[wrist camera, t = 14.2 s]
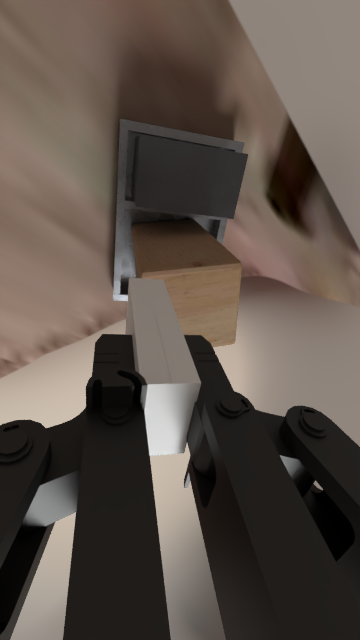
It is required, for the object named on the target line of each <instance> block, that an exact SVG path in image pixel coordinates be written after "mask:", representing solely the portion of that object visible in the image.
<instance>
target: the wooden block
mask: <svg viewBox="0 0 360 640" xmlns="http://www.w3.org/2000/svg"><path fill="white" fill-rule="evenodd" d="M131 232H132V241H133V250H134V258H135V267H136V275H137V278H142V279H157V280H164V283H165V285H166V288H167V291H168V294H169V296H170V299H171V302H172V305H173V307H174V310H175V313H176V315H177V318H178V321H179V324H180V326H181V329H182V332H183V335H202V336H203V337H204V338H205V339H206V340H207V341H209V342H210V343H211V345H212V347H217V346H224V345H230V344H234V342H235V337H236V325H237V313H238V303H239V291H240V280H241V268H242V264H241V262H240V261H239V260H238V259H237V258H236V257H235V256H234V255H233V254H232V253H230V252H229V251H228V250H227V249H226V248H225V247H224V246H223V245H222V244H221V243H220V242H218V241H217V240H216V239H215V238H214V237H213V236H212V235H211V234H210V233H209V232H208V231H206V230H205V229H204V228H203V227H202V226H201V225H200V224H199V223H198V222H197V221H195V220H193V219H191V220H177V221H164V222H151V223H137V224H132V225H131Z"/></svg>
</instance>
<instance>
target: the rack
mask: <svg viewBox="0 0 360 640" xmlns="http://www.w3.org/2000/svg"><path fill="white" fill-rule="evenodd" d="M243 146H244V143H243V142H238V141H233V140H228V139H223V138H218V137H212V136H207V135H202V134H197V133H192V132H187V131H182V130H177V129H172V128H166V127H161V126H156V125H151V124H146V123H141V122H136V121H131V120H126V119H120V127H119V153H118V179H117V206H116V232H115V258H114V284H113V300H121V301H128V287H129V278H137V275H136V267H135V258H134V250H133V241H132V232H131V225H132V224H137V223H151V222H164V221H177V220H191V219H193V220H195V221H197V222H198V223H199V224H200V225H201V226H202V227H203V228H204V229H205V230H206V231H208V232H209V233H210V234H211V235H212V236H213V237H214V238H215V239H216V240H217V241H218V242H220V243H221V244H222V241H223V237H224V232H225V228H226V223H227V219H228V218H230V219H233V218H234V214H235V209H236V205H237V201H238V196H239V192H240V188H241V183H242V179H243V175H244V170H245V166H246V162H247V157H248V154H244V153H242V151H243Z"/></svg>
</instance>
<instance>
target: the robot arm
mask: <svg viewBox="0 0 360 640" xmlns="http://www.w3.org/2000/svg"><path fill="white" fill-rule="evenodd" d="M186 443H188V447H189V450H190V455H191V456H190V460H189V463H188V467H187V471H186V475H185V479H184V488H187V487H188V485H189V482H190V481H191V485H192V489H193V494H194V498H195V503H196V507H197V512H198V516H199V521H200V525H201V530H202V534H203V539H204V543H205V548H206V552H207V557H208V561H209V566H210V570H211V575H212V579H213V583H214V588H215V592H216V597H217V601H218V605H219V610H220V615H221V619H222V624H223V628H224V633H225V637H226V640H360V447H359V446H358V445H357V444H356V443H355V442H354V441H353V440H351V438H350V437H349V436H347V435H346V434H345V433H344V432H343V431H342V430H341V429H340V428H339V427H338V426H337V425H336V424H335V423H334V422H332V420H330V419H329V418H328V417H327V416H325V415H324V414H323V413H321V412H319V411H317V410H315V409H313V408H310V407H306V406H294V407H292V408H290V409H289V410H288V411H287V413H286V416H285V417H282V416H278V415H273V414H269V413H265V412H261V411H258V410H255V408H254V406H253V405H252V404H251V403H250V401H249V400H248V399H247V398H245V397H244V396H243V395H241V394H240V393H237V392H234V390H233V388H232V386H231V384H230V382H229V380H228V379H227V376H226V374H225V372H224V370H223V368H222V366H221V364H220V362H219V360H218V357H217V355H215V351H214V349H213V347H212V345H211V343H210V342H209V341H207V340H206V339H205V338H204V337H203V336H202V335H183V332H182V329H181V326H180V324H179V321H178V318H177V315H176V313H175V310H174V307H173V305H172V302H171V299H170V296H169V294H168V291H167V288H166V285H165V283H164V280H157V279H142V278H129V287H128V302H127V317H126V335H118V334H117V335H116V334H102V336H101V337H100V338H99V339H98V340H97V342H96V343H95V352H94V362H93V372H92V377H91V378H90V379H89V381H88V383H87V386H86V408H85V409H84V410H83V412H81V413H80V415H78V416H77V417H75V418H73V419H72V420H70V421H67V422H65V423H62V424H59V425H56V426H53V427H50V428H45V427H44V426H43V425H42V424H41V423H38V422H35V421H32V420H16V421H12V422H9V423H6V424H2V425H0V640H10V638H11V635H12V633H13V630H14V627H15V625H16V622H17V620H18V617H19V615H20V612H21V609H22V607H23V604H24V601H25V599H26V596H27V593H28V591H29V589H30V586H31V583H32V581H33V578H34V576H35V573H36V570H37V568H38V565H39V563H40V560H41V557H42V554H43V552H44V549H45V547H46V544H47V542H48V539H49V536H50V534H51V531H52V529H53V526H54V523H55V522H56V521H58V520H60V519H62V518H64V517H66V516H68V515H71V514H73V513H75V512H76V519H75V529H74V539H73V549H72V558H71V568H70V578H69V587H68V597H67V607H66V616H65V626H64V636H63V640H171V639H170V630H169V621H168V612H167V604H166V595H165V586H164V577H163V570H162V560H161V551H160V543H159V534H158V526H157V517H156V508H155V499H154V491H153V482H152V473H151V465H150V456H153V455H164V454H176V453H177V454H178V453H184V452H185V447H186ZM315 480H316V481H317V482H318V484H319V485H320V486H321V487H322V488H323V490H320V489H318V488H317V487H316V486H315V485H314V484H313V483H314V482H315Z"/></svg>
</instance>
